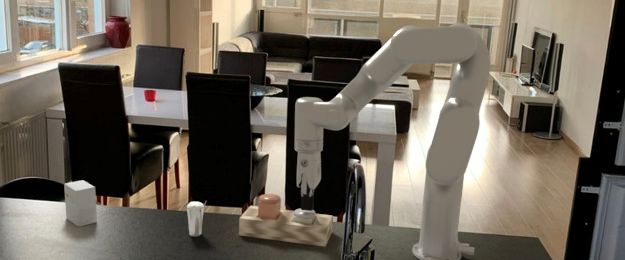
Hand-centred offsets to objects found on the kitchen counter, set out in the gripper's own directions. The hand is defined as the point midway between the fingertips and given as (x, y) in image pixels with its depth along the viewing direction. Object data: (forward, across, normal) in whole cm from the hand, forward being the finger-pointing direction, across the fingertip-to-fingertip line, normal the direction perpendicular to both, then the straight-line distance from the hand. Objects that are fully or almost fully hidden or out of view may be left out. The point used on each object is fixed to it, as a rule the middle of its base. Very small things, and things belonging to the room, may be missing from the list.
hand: (307, 209), depth 167 cm
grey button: (+7, 0, +1) cm, 7 cm away
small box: (+7, -9, +63) cm, 64 cm away
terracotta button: (+4, 0, +11) cm, 11 cm away
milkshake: (+8, -8, +29) cm, 31 cm away
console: (+8, 0, +6) cm, 10 cm away
